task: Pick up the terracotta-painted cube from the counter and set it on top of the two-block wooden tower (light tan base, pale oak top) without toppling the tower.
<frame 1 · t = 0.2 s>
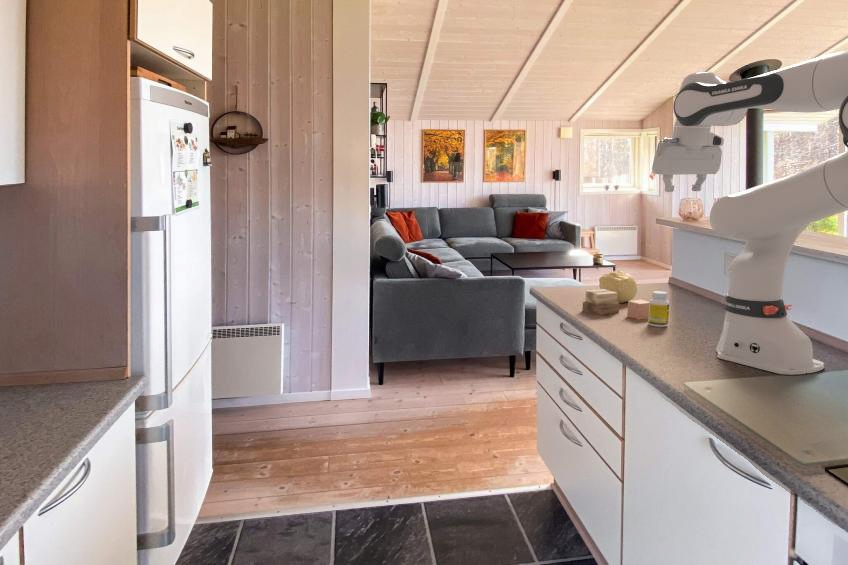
hand: (682, 191, 154), 39 cm above the worktop, tool pointing down, fingers open, 8 cm apart
top block: (600, 302, 185), point 3 cm above the worktop
cube: (639, 317, 177), on the worktop
supplement bottle: (657, 325, 167), on the worktop
bottom block: (600, 312, 185), on the worktop
pale yellow rounded lump: (617, 301, 201), on the worktop
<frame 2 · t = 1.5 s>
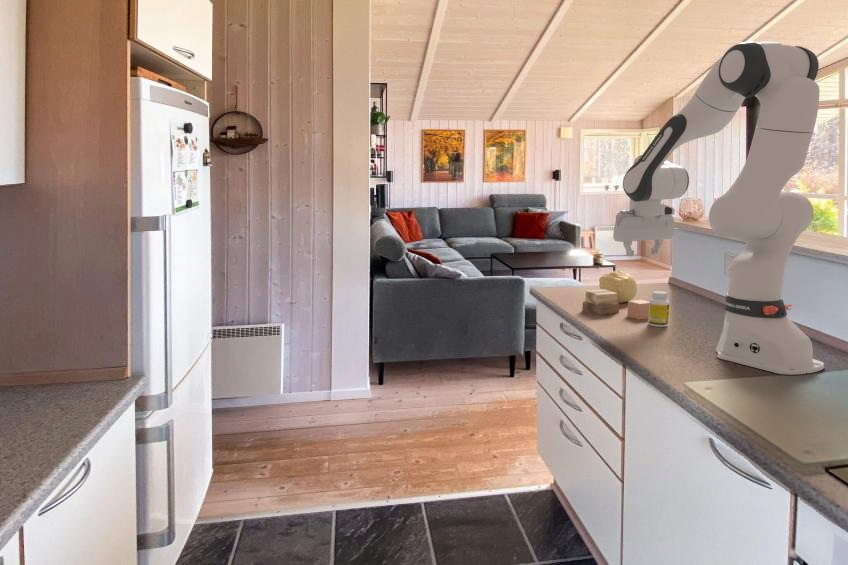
hand: (642, 255, 174), 19 cm above the worktop, tool pointing down, fingers open, 8 cm apart
top block: (600, 302, 184), point 3 cm above the worktop, touching bottom block
bottom block: (600, 313, 185), on the worktop, touching top block
everything else where it was.
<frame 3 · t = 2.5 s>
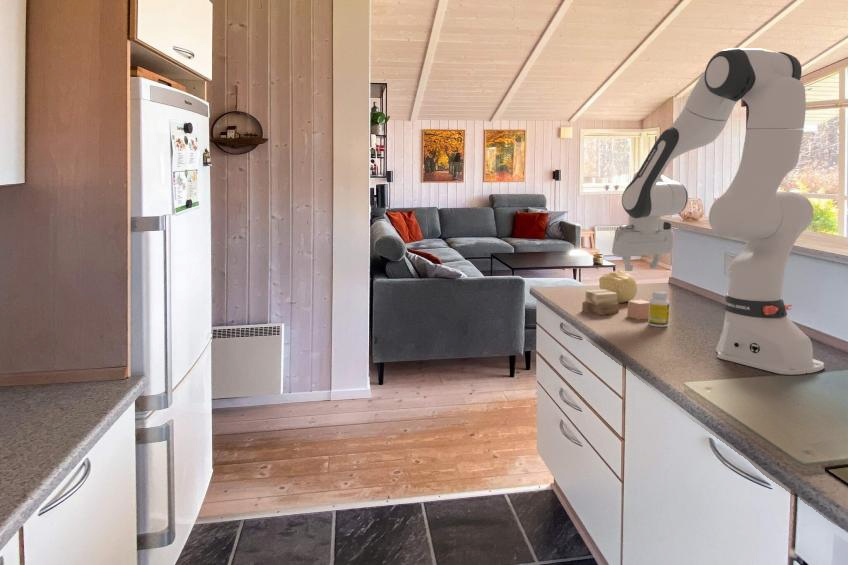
hand: (641, 269, 175), 15 cm above the worktop, tool pointing down, fingers open, 8 cm apart
nothing on the worktop moved.
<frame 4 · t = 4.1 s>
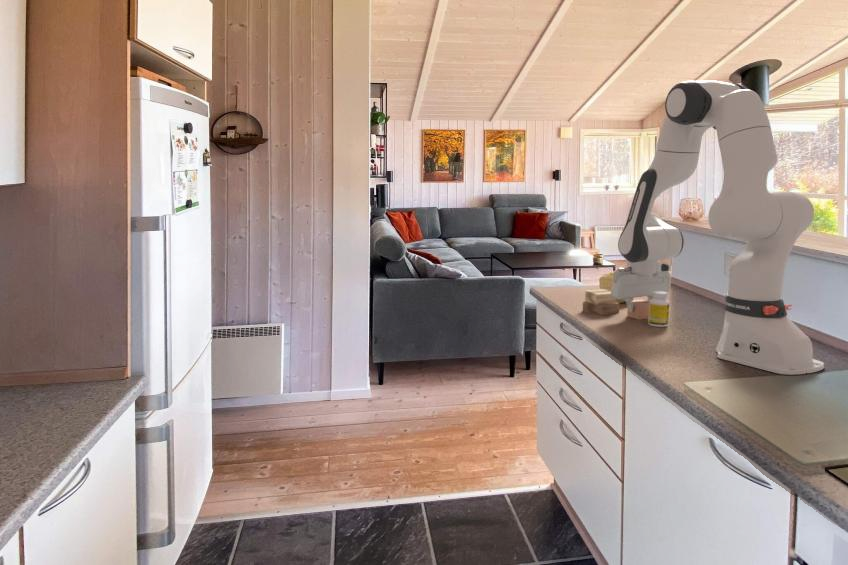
hand: (639, 310, 177), 2 cm above the worktop, tool pointing down, fingers closed on cube, 5 cm apart
cube: (639, 317, 177), on the worktop, touching gripper
everything else where it was.
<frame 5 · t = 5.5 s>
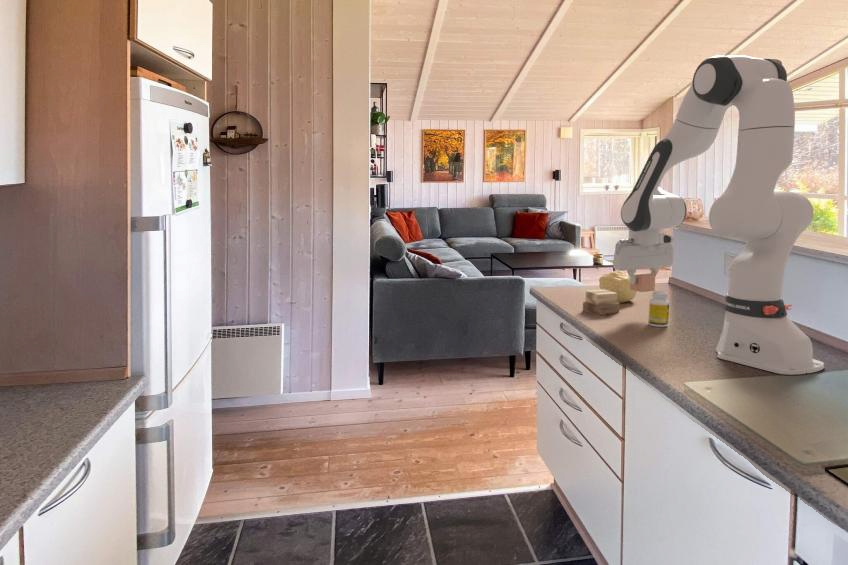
hand: (642, 283, 175), 11 cm above the worktop, tool pointing down, fingers closed on cube, 5 cm apart
cube: (642, 290, 175), point 9 cm above the worktop, touching gripper
everything else where it was.
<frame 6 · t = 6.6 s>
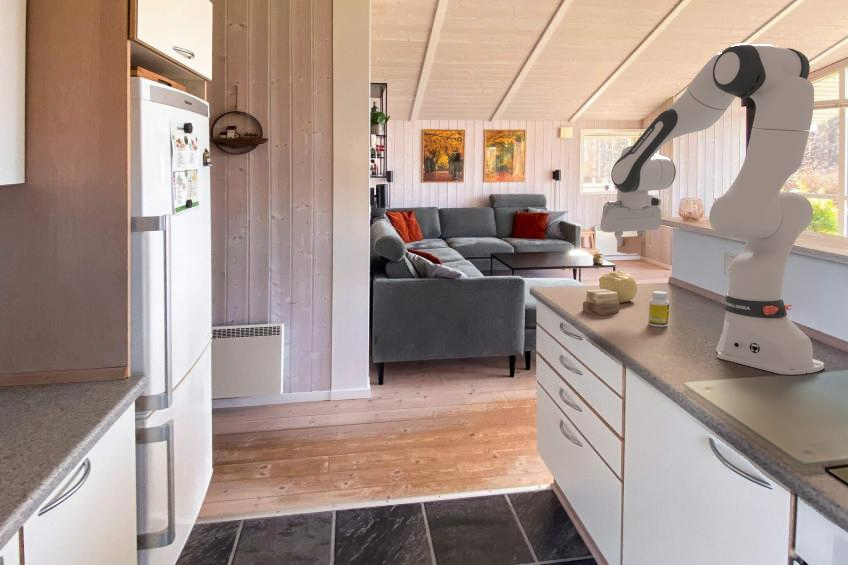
hand: (629, 245, 176), 22 cm above the worktop, tool pointing down, fingers closed on cube, 5 cm apart
cube: (628, 252, 177), point 20 cm above the worktop, touching gripper
everything else where it was.
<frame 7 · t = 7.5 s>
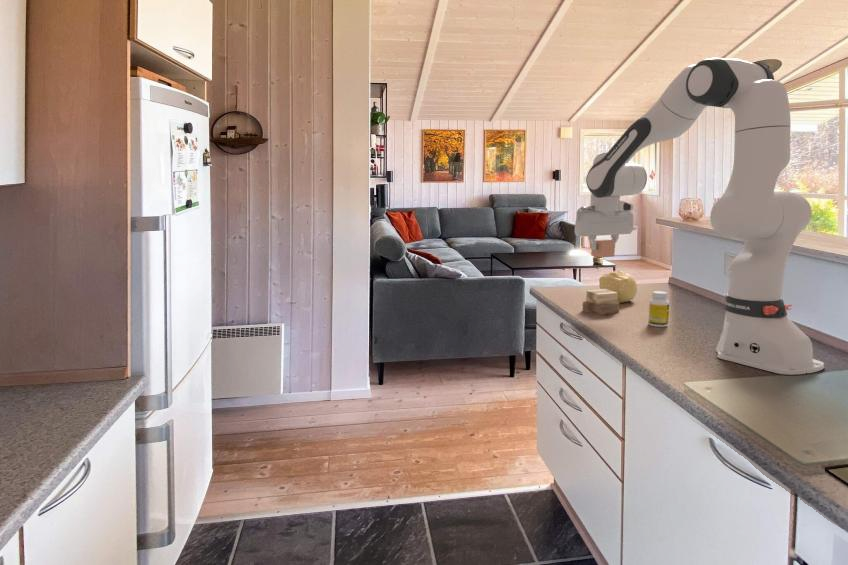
hand: (603, 249, 182), 20 cm above the worktop, tool pointing down, fingers closed on cube, 5 cm apart
cube: (602, 256, 182), point 18 cm above the worktop, touching gripper
everything else where it was.
when the fingers open (10 cm above the worktop, at t = 9.6 s): cube drops 2 cm, point 7 cm above the worktop.
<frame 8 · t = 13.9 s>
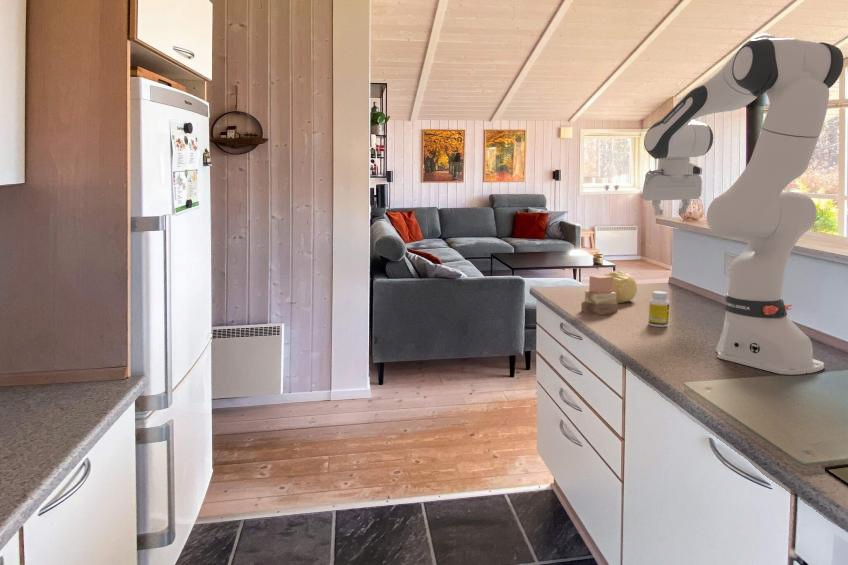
hand: (670, 214, 177), 31 cm above the worktop, tool pointing down, fingers open, 8 cm apart
cube: (600, 291, 184), point 7 cm above the worktop
everything else where it was.
at the end: cube 0.1 cm from the top block (horizontally); cube point 6.5 cm above the worktop; top block tilted 0° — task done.
